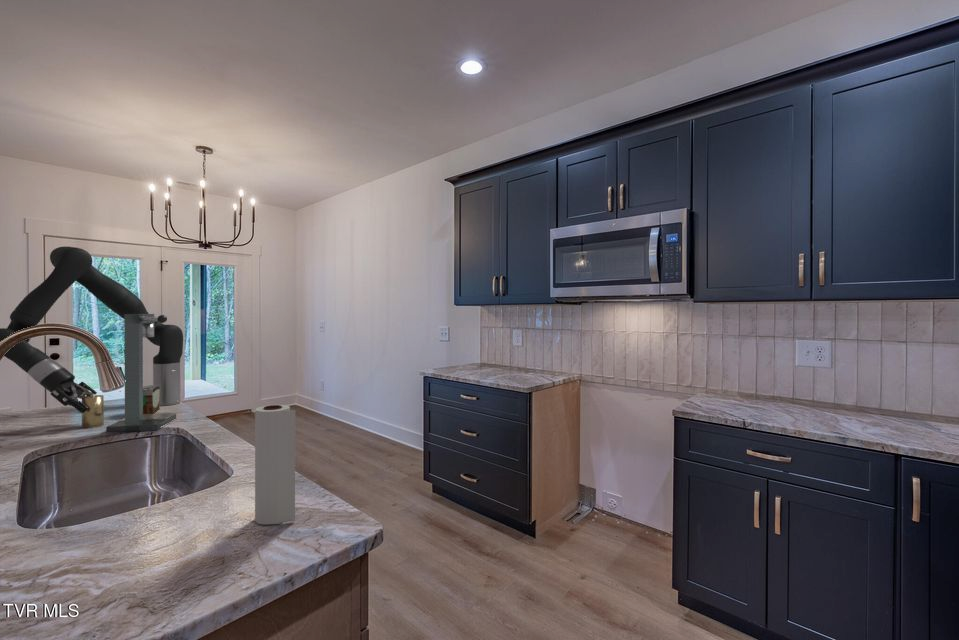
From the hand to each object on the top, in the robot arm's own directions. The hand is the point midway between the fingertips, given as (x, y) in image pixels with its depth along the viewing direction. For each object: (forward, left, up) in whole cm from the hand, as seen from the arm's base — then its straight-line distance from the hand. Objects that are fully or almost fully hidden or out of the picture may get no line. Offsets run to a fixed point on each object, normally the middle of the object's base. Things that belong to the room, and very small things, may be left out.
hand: (93, 408), depth 146 cm
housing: (0, 0, -6) cm, 6 cm away
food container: (-16, +9, -6) cm, 19 cm away
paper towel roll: (+86, +71, -6) cm, 112 cm away
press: (+4, +17, -6) cm, 18 cm away
